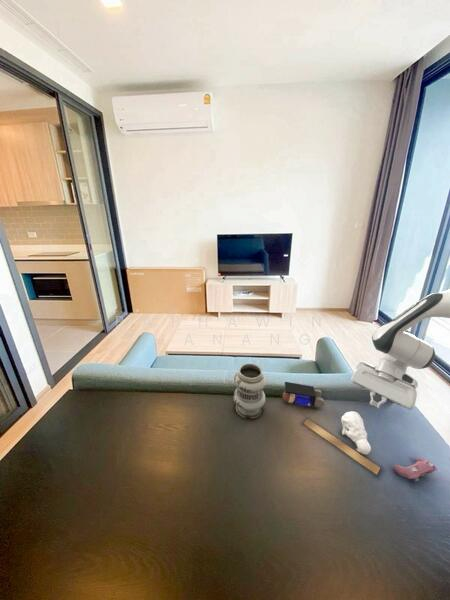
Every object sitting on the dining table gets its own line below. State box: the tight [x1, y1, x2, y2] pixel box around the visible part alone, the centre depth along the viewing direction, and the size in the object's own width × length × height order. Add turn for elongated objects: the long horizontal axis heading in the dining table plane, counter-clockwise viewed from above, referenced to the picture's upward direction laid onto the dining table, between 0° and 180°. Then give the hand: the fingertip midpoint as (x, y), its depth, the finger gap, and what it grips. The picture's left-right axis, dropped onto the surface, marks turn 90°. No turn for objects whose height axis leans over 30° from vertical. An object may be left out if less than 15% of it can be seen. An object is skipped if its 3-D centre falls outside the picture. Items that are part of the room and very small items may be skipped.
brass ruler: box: [303, 418, 381, 476], centre depth 80 cm, size 24×3×1 cm, turn 42°
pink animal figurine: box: [393, 457, 438, 482], centre depth 70 cm, size 10×5×7 cm, turn 105°
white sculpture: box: [340, 410, 372, 455], centre depth 80 cm, size 6×8×12 cm
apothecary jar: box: [232, 363, 267, 420], centre depth 91 cm, size 12×12×18 cm
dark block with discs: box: [282, 381, 325, 409], centre depth 96 cm, size 7×8×15 cm
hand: (373, 406), depth 88 cm, fingers closed
